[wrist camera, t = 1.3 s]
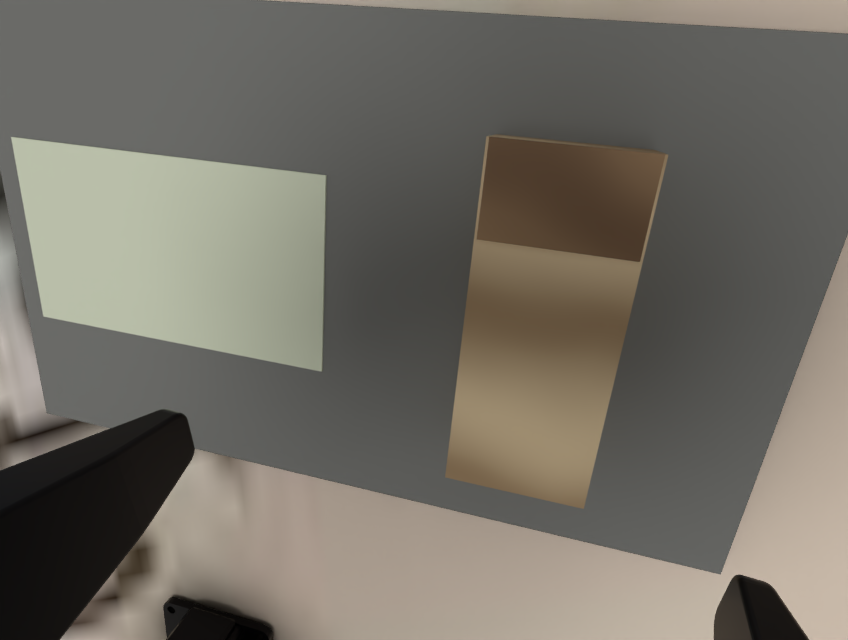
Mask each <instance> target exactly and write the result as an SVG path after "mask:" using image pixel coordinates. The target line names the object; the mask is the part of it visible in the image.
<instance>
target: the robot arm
mask: <svg viewBox="0 0 848 640" xmlns="http://www.w3.org/2000/svg"><path fill="white" fill-rule="evenodd" d="M194 448H195V447H194V442H193V438H192V434H191V430H190V426H189V422H188V419H187V417H186V416H185V415H184V414H183V413H180V412H177V411H174V410H170V409H160V410H157V411H155V412H152V413H149V414H147V415H144V416H142V417H139V418H136V419H134V420H131V421H129V422H126V423H123V424H121V425H118V426H115V427H113V428H110V429H108V430H105V431H102V432H100V433H97V434H95V435H92V436H89V437H87V438H84V439H81V440H79V441H76V442H74V443H71V444H68V445H66V446H63V447H61V448H58V449H55V450H53V451H50V452H48V453H45V454H42V455H40V456H37V457H34V458H32V459H29V460H27V461H24V462H21V463H19V464H16V465H14V466H11V467H8V468H6V469H3V470H0V640H60V639H61V637H62V636H63V635H64V634H65V632H66V631H67V630H68V629H69V627H70V626H71V625H72V623H73V622H74V621H75V620H76V618H77V617H78V616H79V615H80V613H81V612H82V611H83V610H84V608H85V607H86V606H87V604H88V603H89V602H90V601H91V599H92V598H93V597H94V596H95V594H96V593H97V592H98V591H99V589H100V588H101V587H102V585H103V584H104V583H105V582H106V580H107V579H108V578H109V577H110V575H111V574H112V573H113V572H114V570H115V569H116V568H117V567H118V565H119V564H120V563H121V561H122V560H123V559H124V558H125V556H126V555H127V554H128V553H129V551H130V550H131V549H132V548H133V546H134V545H135V544H136V542H137V541H138V540H139V538H140V537H141V536H142V534H143V533H144V532H145V530H146V529H147V527H148V526H149V524H150V523H151V521H152V520H153V518H154V517H155V515H156V514H157V512H158V511H159V509H160V508H161V506H162V504H163V503H164V501H165V500H166V498H167V497H168V495H169V494H170V492H171V491H172V489H173V488H174V486H175V485H176V483H177V481H178V480H179V478H180V477H181V475H182V474H183V472H184V471H185V469H186V468H187V466H188V465H189V463H190V461H191V460H192V457H193V455H194ZM163 608H164V616H165V625H166V633H167V639H166V640H273V634H272V630H271V629H270V628H269V627H268V626H266V625H264V624H261V623H258V622H254V621H251V620H248V619H244V618H241V617H238V616H235V615H231V614H228V613H225V612H221V611H218V610H215V609H211V608H208V607H205V606H201V605H198V604H195V603H192V602H188V601H185V600H182V599H178V598H175V597H171V598H169V599H168V601H167V602H166V603H165V604H164V607H163ZM714 640H809V639H808V637H807V636H806V634H805V633H804V631H803V630H802V629H801V627H800V626H799V624H798V623H797V621H796V620H795V618H794V617H793V615H792V614H791V613H790V611H789V610H788V608H787V607H786V605H785V604H784V602H783V601H782V599H781V598H780V596H779V595H778V594H777V592H776V591H775V589H774V588H773V587H772V586H771V585H770V584H768V583H766V582H764V581H761V580H757V579H754V578H750V577H747V576H743V575H736V576H734V577H733V578H732V580H731V582H730V584H729V586H728V588H727V590H726V592H725V594H724V596H723V598H722V600H721V602H720V604H719V606H718V608H717V610H716V614H715V620H714Z"/></svg>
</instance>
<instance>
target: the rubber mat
mask: <svg viewBox="0 0 848 640" xmlns="http://www.w3.org/2000/svg"><path fill="white" fill-rule="evenodd" d="M495 134H500V135H510V136H520V137H530V138H540V139H550V140H560V141H570V142H580V143H590V144H600V145H610V146H620V147H630V148H640V149H650V150H657V151H659V152H662V153H665V154H668V159H667V163H666V167H665V171H664V175H663V180H662V184H661V188H660V192H659V196H658V200H657V205H656V209H655V213H654V217H653V221H652V226H651V230H650V234H649V238H648V242H647V246H646V251H645V255H644V259H643V263H642V267H641V271H640V276H639V280H638V284H637V288H636V292H635V297H634V301H633V305H632V309H631V313H630V317H629V322H628V326H627V330H626V334H625V338H624V342H623V347H622V351H621V355H620V359H619V363H618V368H617V372H616V376H615V380H614V384H613V388H612V393H611V397H610V401H609V405H608V409H607V414H606V418H605V422H604V426H603V430H602V434H601V439H600V443H599V447H598V451H597V455H596V459H595V464H594V468H593V472H592V476H591V480H590V485H589V489H588V493H587V497H586V501H585V505H584V509H582V508H577V507H573V506H569V505H564V504H560V503H555V502H551V501H547V500H542V499H538V498H534V497H529V496H525V495H520V494H516V493H512V492H507V491H503V490H498V489H494V488H490V487H485V486H481V485H477V484H472V483H468V482H463V481H459V480H455V479H450V478H446V477H445V474H446V466H447V458H448V449H449V441H450V433H451V425H452V416H453V408H454V400H455V392H456V383H457V375H458V367H459V359H460V350H461V342H462V334H463V326H464V317H465V309H466V301H467V293H468V284H469V276H470V268H471V260H472V251H473V243H474V235H475V227H476V218H477V210H478V202H479V194H480V185H481V177H482V169H483V161H484V152H485V144H486V136H490V135H495ZM0 170H1V175H2V180H3V186H4V191H5V196H6V201H7V207H8V212H9V217H10V222H11V228H12V233H13V238H14V243H15V249H16V254H17V259H18V264H19V269H20V275H21V280H22V285H23V290H24V296H25V301H26V306H27V311H28V317H29V322H30V327H31V332H32V338H33V343H34V348H35V353H36V359H37V364H38V369H39V374H40V380H41V385H42V390H43V395H44V400H45V406H46V411H47V413H49V414H53V415H57V416H61V417H66V418H70V419H74V420H78V421H82V422H87V423H91V424H95V425H99V426H103V427H107V428H113V427H115V426H118V425H121V424H123V423H126V422H129V421H131V420H134V419H136V418H139V417H142V416H144V415H147V414H149V413H152V412H155V411H157V410H160V409H170V410H174V411H177V412H180V413H183V414H184V415H185V416H186V417H187V419H188V422H189V426H190V430H191V434H192V438H193V442H194V447H195V449H199V450H203V451H208V452H212V453H216V454H220V455H224V456H229V457H233V458H237V459H241V460H245V461H249V462H254V463H258V464H262V465H266V466H270V467H274V468H279V469H283V470H287V471H291V472H295V473H300V474H304V475H308V476H312V477H316V478H320V479H325V480H329V481H333V482H337V483H341V484H345V485H350V486H354V487H358V488H362V489H366V490H371V491H375V492H379V493H383V494H387V495H391V496H396V497H400V498H404V499H408V500H412V501H416V502H421V503H425V504H429V505H433V506H437V507H441V508H446V509H450V510H454V511H458V512H462V513H467V514H471V515H475V516H479V517H483V518H487V519H492V520H496V521H500V522H504V523H508V524H512V525H517V526H521V527H525V528H529V529H533V530H538V531H542V532H546V533H550V534H554V535H558V536H563V537H567V538H571V539H575V540H579V541H583V542H588V543H592V544H596V545H600V546H604V547H609V548H613V549H617V550H621V551H625V552H629V553H634V554H638V555H642V556H646V557H650V558H654V559H659V560H663V561H667V562H671V563H675V564H680V565H684V566H688V567H692V568H696V569H700V570H705V571H709V572H713V573H717V574H721V572H722V569H723V566H724V564H725V561H726V558H727V556H728V553H729V550H730V548H731V545H732V542H733V540H734V537H735V534H736V532H737V529H738V526H739V524H740V521H741V518H742V516H743V513H744V510H745V508H746V505H747V502H748V500H749V497H750V494H751V491H752V489H753V486H754V483H755V481H756V478H757V475H758V473H759V470H760V467H761V465H762V462H763V459H764V457H765V454H766V451H767V449H768V446H769V443H770V441H771V438H772V435H773V433H774V430H775V427H776V424H777V422H778V419H779V416H780V414H781V411H782V408H783V406H784V403H785V400H786V398H787V395H788V392H789V390H790V387H791V384H792V382H793V379H794V376H795V374H796V371H797V368H798V366H799V363H800V360H801V358H802V355H803V352H804V349H805V347H806V344H807V341H808V339H809V336H810V333H811V331H812V328H813V325H814V323H815V320H816V317H817V315H818V312H819V309H820V307H821V304H822V301H823V299H824V296H825V293H826V291H827V288H828V285H829V282H830V280H831V277H832V274H833V272H834V269H835V266H836V264H837V261H838V258H839V256H840V253H841V250H842V248H843V245H844V242H845V240H846V237H847V234H848V34H844V33H826V32H808V31H791V30H773V29H756V28H738V27H720V26H703V25H685V24H667V23H650V22H632V21H615V20H597V19H579V18H562V17H544V16H527V15H509V14H491V13H474V12H456V11H438V10H421V9H403V8H386V7H368V6H350V5H333V4H315V3H298V2H280V1H262V0H0Z"/></svg>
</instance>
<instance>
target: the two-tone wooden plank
mask: <svg viewBox="0 0 848 640" xmlns="http://www.w3.org/2000/svg"><path fill="white" fill-rule="evenodd" d="M667 159H668V154H665V153H662V152H659V151H657V150H650V149H640V148H630V147H620V146H610V145H600V144H590V143H580V142H570V141H560V140H550V139H540V138H530V137H520V136H510V135H500V134H495V135H490V136H486V144H485V152H484V161H483V169H482V177H481V185H480V194H479V202H478V210H477V218H476V227H475V235H474V243H473V251H472V260H471V268H470V276H469V284H468V293H467V301H466V309H465V317H464V326H463V334H462V342H461V350H460V359H459V367H458V375H457V383H456V392H455V400H454V408H453V416H452V425H451V433H450V441H449V449H448V458H447V466H446V474H445V477H446V478H450V479H455V480H459V481H463V482H468V483H472V484H477V485H481V486H485V487H490V488H494V489H498V490H503V491H507V492H512V493H516V494H520V495H525V496H529V497H534V498H538V499H542V500H547V501H551V502H555V503H560V504H564V505H569V506H573V507H577V508H582V509H584V505H585V501H586V497H587V493H588V489H589V485H590V480H591V476H592V472H593V468H594V464H595V459H596V455H597V451H598V447H599V443H600V439H601V434H602V430H603V426H604V422H605V418H606V414H607V409H608V405H609V401H610V397H611V393H612V388H613V384H614V380H615V376H616V372H617V368H618V363H619V359H620V355H621V351H622V347H623V342H624V338H625V334H626V330H627V326H628V322H629V317H630V313H631V309H632V305H633V301H634V297H635V292H636V288H637V284H638V280H639V276H640V271H641V267H642V263H643V259H644V255H645V251H646V246H647V242H648V238H649V234H650V230H651V226H652V221H653V217H654V213H655V209H656V205H657V200H658V196H659V192H660V188H661V184H662V180H663V175H664V171H665V167H666V163H667Z"/></svg>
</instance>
